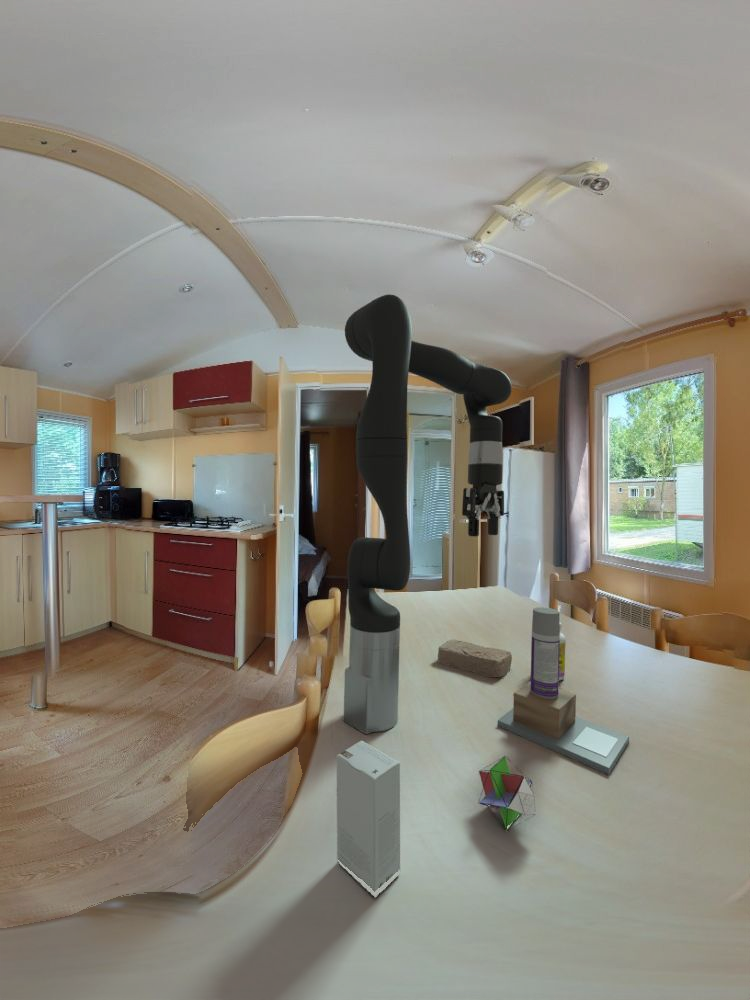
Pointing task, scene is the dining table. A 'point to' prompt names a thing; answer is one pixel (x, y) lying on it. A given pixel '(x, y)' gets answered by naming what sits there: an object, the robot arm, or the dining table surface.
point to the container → (545, 653)
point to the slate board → (577, 741)
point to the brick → (475, 658)
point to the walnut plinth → (545, 711)
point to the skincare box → (368, 813)
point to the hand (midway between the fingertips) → (483, 535)
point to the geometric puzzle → (507, 792)
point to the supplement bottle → (562, 655)
